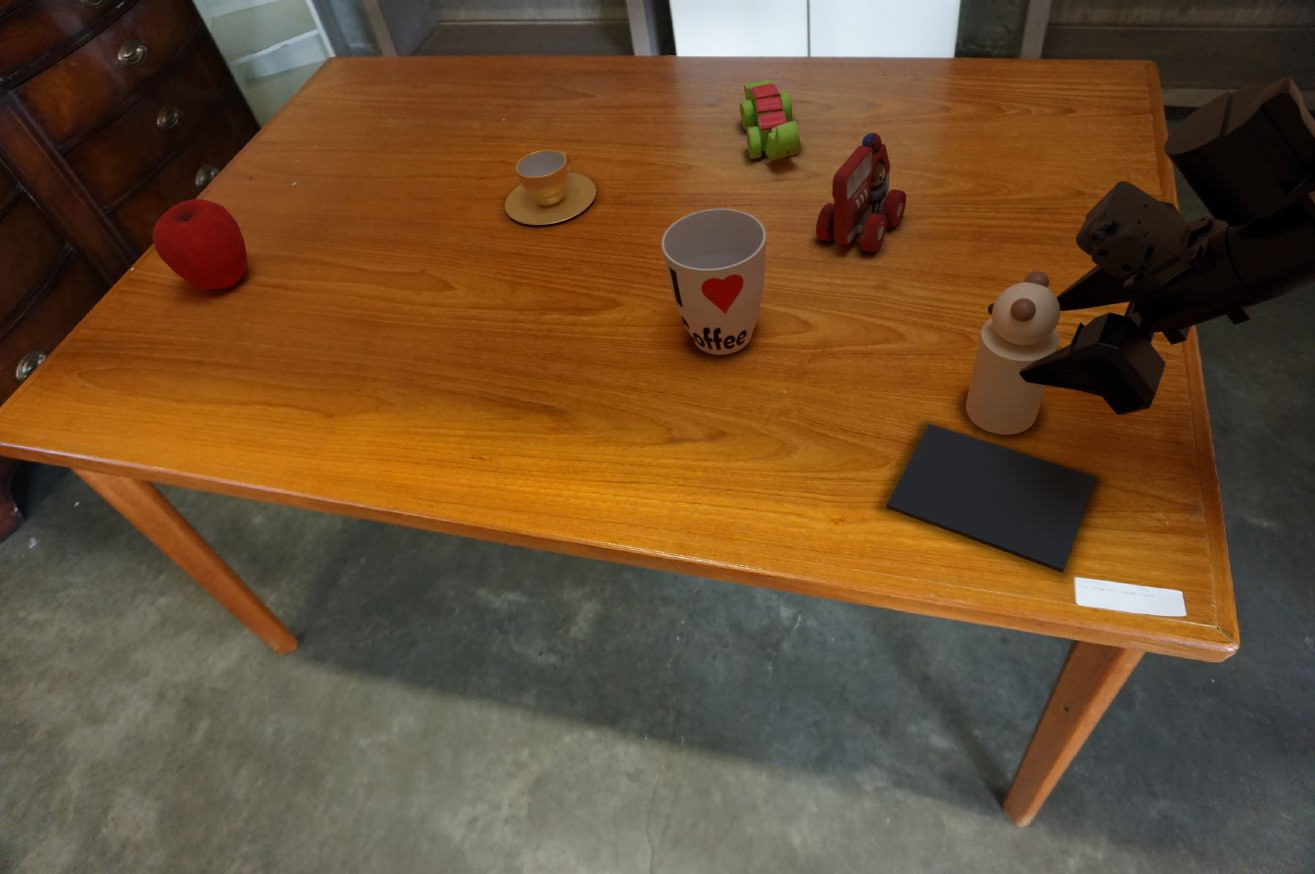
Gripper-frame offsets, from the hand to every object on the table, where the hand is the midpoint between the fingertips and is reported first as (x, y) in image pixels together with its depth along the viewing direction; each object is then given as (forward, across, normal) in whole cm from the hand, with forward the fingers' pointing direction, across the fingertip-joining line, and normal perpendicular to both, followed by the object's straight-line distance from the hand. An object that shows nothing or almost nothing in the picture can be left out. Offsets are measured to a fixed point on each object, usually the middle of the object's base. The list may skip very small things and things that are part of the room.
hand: (1039, 339), depth 68 cm
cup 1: (+51, -13, -37) cm, 64 cm away
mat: (+6, +10, +7) cm, 13 cm away
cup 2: (+28, +1, -14) cm, 31 cm away
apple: (+72, +17, -58) cm, 94 cm away
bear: (+7, 0, +5) cm, 9 cm away
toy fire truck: (+23, -21, -10) cm, 33 cm away
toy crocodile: (+37, -36, -23) cm, 56 cm away
